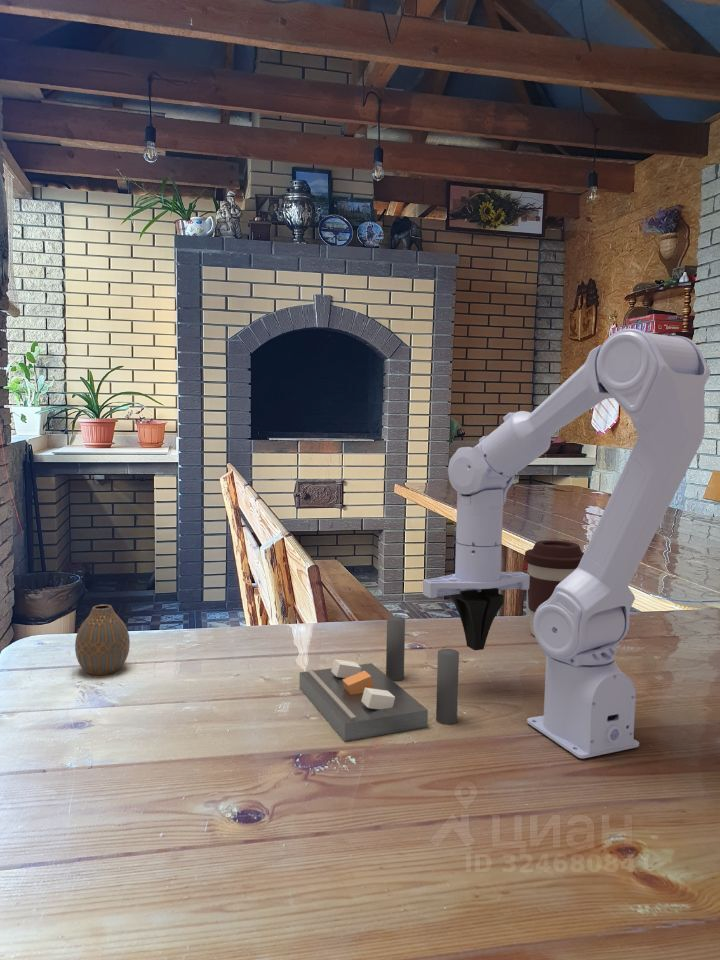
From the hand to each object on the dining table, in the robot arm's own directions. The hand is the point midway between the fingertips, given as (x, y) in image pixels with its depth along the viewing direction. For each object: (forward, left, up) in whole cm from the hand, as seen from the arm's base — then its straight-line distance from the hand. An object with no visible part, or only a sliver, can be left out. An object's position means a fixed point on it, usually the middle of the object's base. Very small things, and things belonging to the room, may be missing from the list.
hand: (475, 647), depth 90 cm
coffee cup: (+15, -24, -6) cm, 29 cm away
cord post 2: (-7, +8, -5) cm, 12 cm away
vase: (+23, +44, -6) cm, 50 cm away
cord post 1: (+7, +8, -5) cm, 12 cm away
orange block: (0, +16, -3) cm, 16 cm away
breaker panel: (0, +16, -5) cm, 17 cm away
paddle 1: (+5, +16, -3) cm, 17 cm away
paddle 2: (-5, +16, -3) cm, 17 cm away
